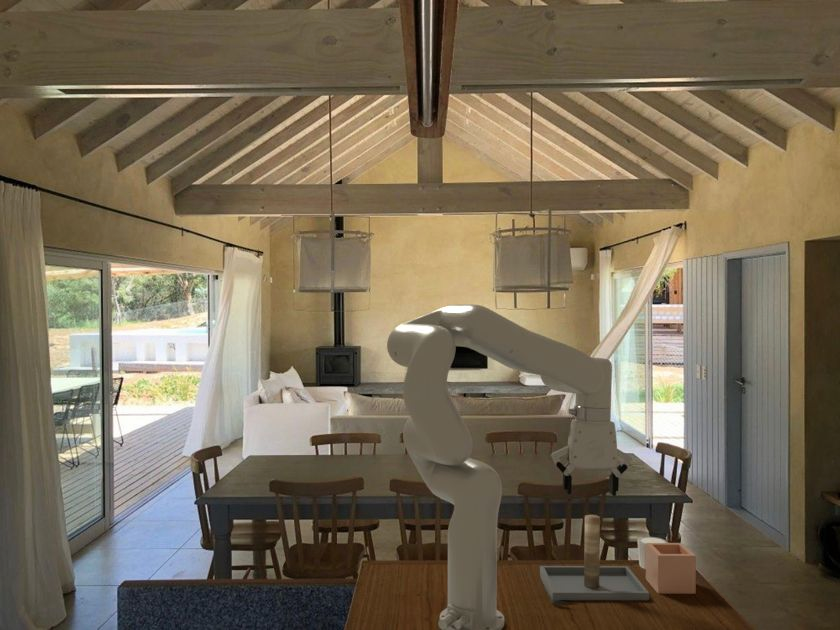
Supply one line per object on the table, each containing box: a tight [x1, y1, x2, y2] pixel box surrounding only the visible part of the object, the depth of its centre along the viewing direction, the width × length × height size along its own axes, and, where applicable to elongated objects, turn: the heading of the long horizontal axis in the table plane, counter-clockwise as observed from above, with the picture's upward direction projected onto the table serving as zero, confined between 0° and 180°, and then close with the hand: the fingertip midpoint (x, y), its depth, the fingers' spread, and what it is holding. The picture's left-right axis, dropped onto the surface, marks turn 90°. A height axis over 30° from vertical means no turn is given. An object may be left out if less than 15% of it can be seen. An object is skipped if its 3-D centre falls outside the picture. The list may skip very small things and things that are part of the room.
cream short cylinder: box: [637, 536, 669, 570], centre depth 165 cm, size 7×7×7 cm
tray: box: [539, 565, 650, 606], centre depth 153 cm, size 20×15×2 cm
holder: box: [645, 542, 697, 595], centre depth 153 cm, size 8×8×9 cm
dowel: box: [583, 514, 601, 589], centre depth 153 cm, size 3×3×15 cm
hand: (590, 493), depth 152 cm, fingers open, 9 cm apart
